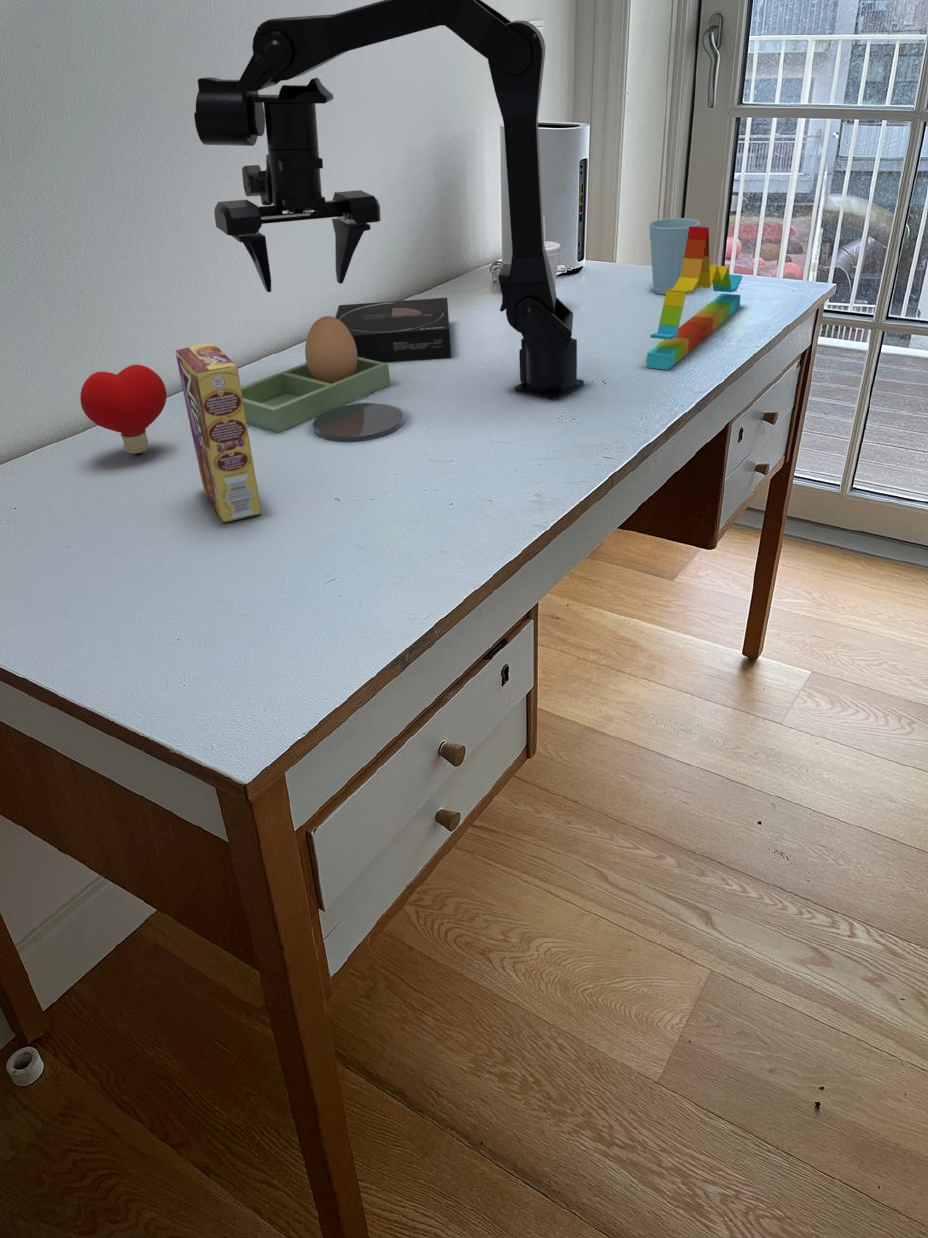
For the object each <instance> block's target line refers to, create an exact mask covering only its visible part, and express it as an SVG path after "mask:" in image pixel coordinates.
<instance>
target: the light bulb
mask: <svg viewBox="0 0 928 1238" xmlns="http://www.w3.org/2000/svg"><path fill="white" fill-rule="evenodd" d="M166 388H167V387H166V384H165V383H164V381H163V379H162V378H161V376H160V375H159V373H157V372H156V371H154V370H153V369H152V368H150V367H148V366H146V365H143V364H130V365H129V366H127V367H125V368H123V369H122V370H120V371H119V372H118V373H113V372H109V371H96V372H94V373H91V374H90V375H89V376H88V377H87V378H86V380H85V381H84V383H83V384H82V387H81V389H80V397H79V398H80V406H81V409H82V411H83V413H84V414H85V416H86V417H87V418H88V419H89V420H90V421H91V422H93V424H95V425H97V426H99V427H101V428H104V429H106V430H110V431H113V432H117V433H120V436H121V439H122V441H123V445H124V451H126V452H128V453H130V454H132V455H134V456H137V457H138V456H142V455H143V454H144V453H145V452H146V450H147V449H148V448H149V447H150V443H149V440H148V436H147V430H146V429H147V428H149V426H151V424H152V423H154V422H155V421H156V420H157V419H158V417H159V416H160V415H161V413H162V412H163V411H164V408H165V405H166V403H167V395H168V394H167V389H166Z"/></svg>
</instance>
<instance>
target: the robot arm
mask: <svg viewBox="0 0 928 1238" xmlns="http://www.w3.org/2000/svg"><path fill="white" fill-rule="evenodd" d="M441 26H442V27H443V26H445V27H446V28H447V29H449V30H450V31H452V32H453V33H454V34H455V35H456V36H457V37H459V38H460V39H461V40H462V41H463V42H465V43H466V44H467V45H468V46H469V47H471V48H472V49H473V50H474V51H476V52H477V53H479V54H480V55H481V56H483V57H484V58H486V59H487V63H488V66H489V67H488V68H489V72H490V76H491V81H492V85H493V89H494V94H495V98H496V100H497V104H498V107H499V110H500V114H501V117H502V122H503V132H504V133H503V134H504V148H505V149H504V150H505V162H506V163H505V164H506V176H507V193H508V207H509V220H510V221H509V222H510V235H511V236H510V237H511V249H512V250H511V252H512V253H511V254H512V255H511V263H510V264H509V263H502V265H501V267H500V271H499V273H498V276H497V277H498V283H499V287H500V291H501V305H500V308H499V311H500V312H501V313H502V312H504V311H505V316H506V319H507V322H508V325H509V326H510V327H511V328H513V329H514V330H515V331H516V332H518V333H520V334H521V336H522V338H521V339H520V345H521V348H520V349H519V351H518V353H519V355H518V356H519V357H518V359H519V381H520V382H521V383H519V384H517V385H515V386H514V391H516V392H519V393H525V394H529V395H532V396H536V397H537V396H538V397H541V398H546V399H551V400H558V399H559V398H562V397H563V396H565V395H567V394H569V393H571V392H573V391H575V390H577V389H579V388H581V387H583V386H584V385H585V380H583V379H579V378H578V339H577V338H573V337H572V336H573V323H574V312H573V311H572V310H571V309H570V308H569V307H568V306H567V305H566V304H565V303H563V302H562V300H561V299H560V298H558V297H557V290H556V286H555V285H554V281H553V276H552V272H551V267H550V264H549V260H548V257H547V253H546V250H545V246H544V232H543V215H544V214H543V196H542V175H541V173H542V172H541V154H540V152H541V151H540V135H539V110H540V102H541V95H542V93H541V92H542V87H543V77H544V68H545V61H546V60H545V58H546V44H545V39H544V36H543V34H542V32H541V31H540V29H538V27H537V26H535V25H534V24H533V23H531V22H528V21H526V20H514V21H511V20H510V19H508V18H507V17H506V16H504V15H503V14H501V12H498V10H496V9H494V8H493V7H491V6H490V5H488V4H487V3H486V2H484V1H483V0H380V1H376V2H372V3H369V4H365V5H362V6H358V7H355V8H352V9H348V10H345V11H341V12H337V13H334V14H318V15H317V14H316V15H303V16H300V15H299V16H287V17H279V18H271V19H267V20H265V21H264V22H262V23H260V24H259V25H258V26H257V28H256V30H255V33H254V35H253V38H252V45H251V48H252V53H253V54H252V56H251V57H250V59H249V61H248V63H247V65H246V67H245V69H244V70H243V73H242V74H241V76H240V78H239V79H223V78H219V77H213V76H205V77H200V78H198V79H197V86H198V87H197V89H198V92H197V94H196V98H195V112H194V113H193V116H194V117H193V119H194V124H195V130H196V133H197V136H198V139H199V140H200V142H201V144H203V145H206V146H241V147H242V146H243V147H254V146H255V145H256V143H257V140H258V137H263V136H264V134H265V132H266V142H267V154H266V155H265V157H266V158H265V164H266V165H265V166H266V168H265V170H262V169H261V166H260V165H259V164H251V165H244V166H242V167H241V174H242V184H243V189H244V194H245V196H246V197H247V198H248V197H260V202H261V205H262V206H258V205H257V204H255V203H253V202H252V201H250V200H249V199H237V200H224V201H218V202H217V203H216V205H215V207H214V212H213V213H214V221H215V228H217V229H219V231H221V232H223V233H224V234H225V235H226V236H230V237H232V238H234V239H235V240H236V241H237V242H239V243H242V244H243V246H244V247H245V249H246V251H247V252H248V254H249V256H250V258H251V260H252V262H253V265H254V267H255V269H256V272H257V274H258V276H259V279H260V281H261V283H262V285H263V287H264V290H265V291H266V292H267V293H271V292H272V276H271V269H270V262H269V261H270V260H269V255H268V254H269V253H268V246H267V238H266V235H264V234H262V233H261V232H260V229H261V227H262V226H263V225H264V224H276V223H289V222H298V221H310V220H318V219H331V222H332V226H333V231H334V235H335V236H334V238H335V242H334V243H335V247H334V249H335V276H336V282H337V283H338V284H339V285H341V284H344V281H345V278H346V276H347V273H348V270H349V268H350V264H351V261H352V259H353V256H354V254H355V252H356V249H357V248H358V245H359V243H360V240H361V238H362V236H363V235H364V232H368V231H370V230H371V229H372V228H371V226H372V225H371V223H379V222H381V206H380V203H379V200H378V198H376V197H375V196H374V195H372V194H370V193H368V192H365V191H364V190H361V189H359V190H346V191H335V192H334V193H333V197H332V200H326V197H325V196H324V195H323V193H322V181H321V179H322V178H321V169H324V162H323V158H321V157H320V151H319V150H320V149H319V137H318V123H317V122H318V121H317V109H316V105H317V104H320V105H321V104H327V103H329V102H332V101H333V100H334V94H333V93H332V92H331V91H329V90H328V88H327V87H325V86H324V85H323V83H322V81H321V80H320V78H318V77H313V78H311V79H310V80H309V82H308V83H307V84H304V85H303V84H301V85H299V84H296V85H295V84H282V86H281V87H280V89H279V91H278V94H259V91H260V90H265V89H268V88H270V87H274V86H277V85H278V84H279V83H280V82H283V81H289V80H291V79H295V78H298V77H301V76H304V75H306V74H308V73H310V72H312V71H314V70H316V69H317V68H319V67H321V66H323V65H325V64H327V63H329V62H331V61H332V60H334V59H336V58H339V57H340V56H342V55H344V54H346V53H347V52H349V51H353V50H357V49H360V48H364V47H367V46H371V45H374V44H378V43H382V42H386V41H389V40H393V39H396V38H400V37H404V36H407V35H411V34H415V33H418V32H423V31H426V30H429V29H432V28H436V27H441ZM283 212H284V213H283Z"/></svg>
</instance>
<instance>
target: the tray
mask: <svg viewBox="0 0 928 1238" xmlns="http://www.w3.org/2000/svg"><path fill="white" fill-rule="evenodd" d="M390 385H391V376H390V368H389V362H379V361H374V360H370V359H365V358H361V357H358V360H357V367H356V370H355V372H354V375H352V376H350V377H347V378H345V379H342V380H340V381H338V382H335V383H333V384H331V383H327V382H323V381H319V380H316V379H315V378H314V377H313V375H312V374H311V372H310V371H309V368H308V366H307V362H304V363H302V364H298V365H296V366H293V367H291V368H288V369H286V370H283V371H281V372H278V373H274V374H273V375H270V376H267V377H264V378H262V379H258V380H256V381H253V382H251V383H249V384H246V385H243V386H241V392H242V399H243V405H244V411H245V417H246V423H247V425H252V426H255V427H257V428H261V429H264V430H268V431H271V432H274V433H277V434H278V433H281V432H282V431H285V430H288V429H289V428H293V427H294V426H297V425H298V424H299V425H300V424H301V423H303V422H306V421H309V420H310V419H313V418H316V417H318V416H319V415H320V414H322V413H324V412H326V411H328V410H331V409H334V408H337V407H341V406H344V405H347V404H348V403H350V402H352V401H355V400H357V399H360V398H362V397H364V396H367V395H369V394H371V393H373V392H376V391H378V390H381V389H383V388H386V387H387V386H390Z"/></svg>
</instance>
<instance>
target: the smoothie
mask: <svg viewBox="0 0 928 1238" xmlns="http://www.w3.org/2000/svg"><path fill="white" fill-rule="evenodd" d="M543 232H544V246H545V250H546V253H547V257H548V260H549V264H550V267H551V272H552V276H553V281H554V285H555V287H556V285H557V277H558V276H557V275H558V267H559V256H560V254H562V247H561V246H562V244H560V243H559V242H556V241H546V215H545V214H543Z"/></svg>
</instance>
